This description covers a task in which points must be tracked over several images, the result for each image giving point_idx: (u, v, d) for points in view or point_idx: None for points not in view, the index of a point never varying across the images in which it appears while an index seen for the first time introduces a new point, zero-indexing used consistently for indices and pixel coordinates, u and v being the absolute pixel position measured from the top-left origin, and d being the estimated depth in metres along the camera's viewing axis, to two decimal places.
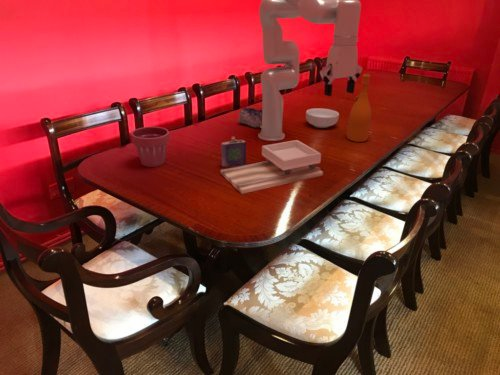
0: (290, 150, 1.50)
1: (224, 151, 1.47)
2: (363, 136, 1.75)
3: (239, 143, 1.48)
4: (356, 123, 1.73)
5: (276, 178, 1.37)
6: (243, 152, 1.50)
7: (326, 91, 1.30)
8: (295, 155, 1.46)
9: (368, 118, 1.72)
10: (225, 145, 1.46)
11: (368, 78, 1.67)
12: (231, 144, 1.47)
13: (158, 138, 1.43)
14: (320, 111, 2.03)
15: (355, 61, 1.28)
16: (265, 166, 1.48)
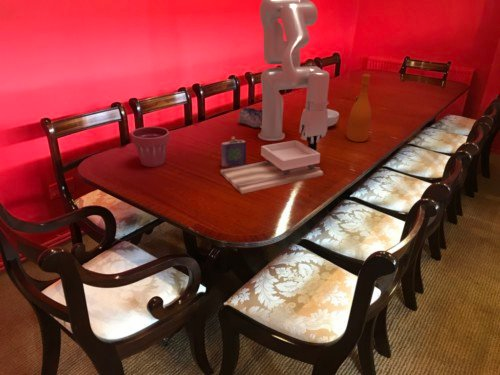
0: (289, 150, 1.50)
1: (224, 151, 1.47)
2: (363, 136, 1.75)
3: (239, 143, 1.48)
4: (356, 123, 1.73)
5: (276, 178, 1.37)
6: (243, 152, 1.50)
7: None
8: (294, 155, 1.46)
9: (368, 118, 1.72)
10: (225, 145, 1.46)
11: (368, 78, 1.67)
12: (231, 144, 1.47)
13: (158, 138, 1.43)
14: None
15: (326, 122, 1.44)
16: (265, 166, 1.48)
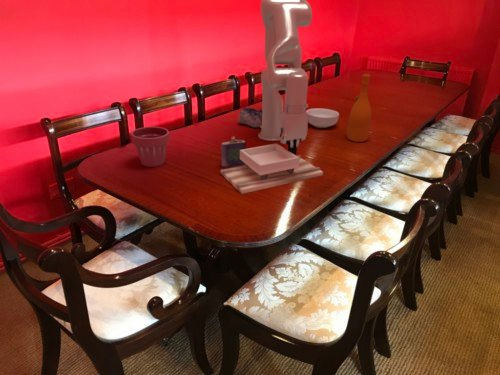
0: (269, 154, 1.46)
1: (224, 151, 1.47)
2: (363, 136, 1.75)
3: (239, 143, 1.48)
4: (356, 123, 1.73)
5: (276, 178, 1.37)
6: None
7: None
8: (273, 159, 1.42)
9: (368, 118, 1.72)
10: (225, 145, 1.46)
11: (368, 78, 1.67)
12: (231, 144, 1.47)
13: (158, 138, 1.43)
14: (320, 111, 2.03)
15: (305, 125, 1.40)
16: None
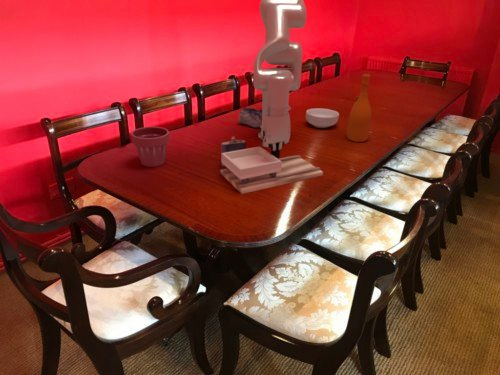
0: (252, 157, 1.43)
1: (224, 151, 1.47)
2: (363, 136, 1.75)
3: (239, 143, 1.48)
4: (356, 123, 1.73)
5: (276, 178, 1.37)
6: None
7: None
8: (256, 163, 1.39)
9: (368, 118, 1.72)
10: (225, 145, 1.46)
11: (368, 78, 1.67)
12: (231, 144, 1.47)
13: (158, 138, 1.43)
14: (320, 111, 2.03)
15: (288, 128, 1.37)
16: None
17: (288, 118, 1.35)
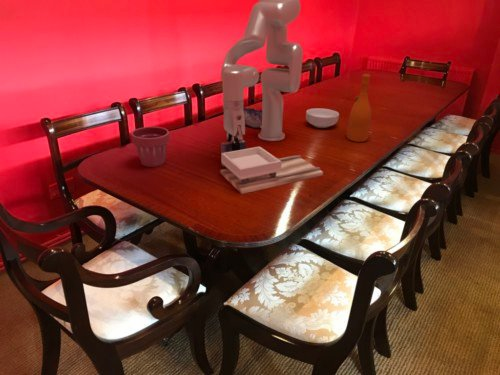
0: (251, 157, 1.43)
1: (224, 150, 1.47)
2: (363, 136, 1.75)
3: None
4: (356, 123, 1.73)
5: (276, 178, 1.37)
6: None
7: None
8: (255, 163, 1.39)
9: (368, 118, 1.72)
10: (225, 145, 1.46)
11: (368, 78, 1.67)
12: (231, 144, 1.47)
13: (158, 138, 1.43)
14: (320, 111, 2.03)
15: (232, 123, 1.40)
16: None
17: (232, 114, 1.39)
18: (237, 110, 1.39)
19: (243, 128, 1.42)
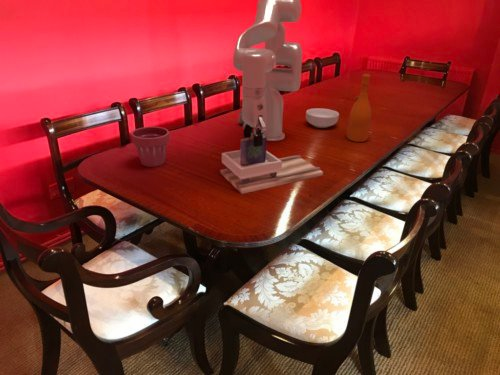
0: None
1: (244, 147, 1.33)
2: (363, 136, 1.75)
3: None
4: (356, 123, 1.73)
5: (276, 178, 1.37)
6: (264, 148, 1.37)
7: None
8: (256, 163, 1.39)
9: (368, 118, 1.72)
10: (245, 141, 1.32)
11: (368, 78, 1.67)
12: (251, 140, 1.33)
13: (158, 138, 1.43)
14: (319, 111, 2.03)
15: (252, 113, 1.26)
16: None
17: (252, 103, 1.24)
18: (258, 99, 1.24)
19: (264, 119, 1.27)
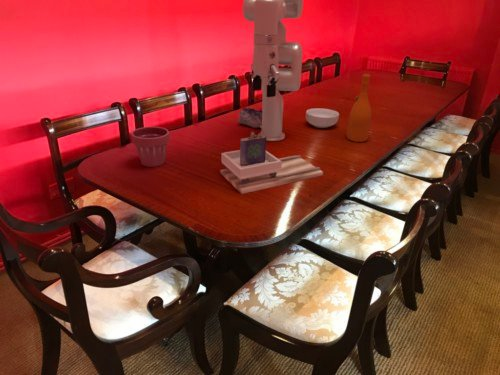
0: None
1: (244, 147, 1.33)
2: (363, 136, 1.75)
3: (259, 139, 1.34)
4: (356, 123, 1.73)
5: (276, 178, 1.37)
6: (263, 148, 1.37)
7: None
8: (256, 163, 1.39)
9: (368, 118, 1.72)
10: (245, 141, 1.32)
11: (368, 78, 1.67)
12: (251, 140, 1.33)
13: (158, 138, 1.43)
14: (319, 111, 2.03)
15: (264, 62, 1.23)
16: None
17: (264, 50, 1.21)
18: (270, 46, 1.21)
19: (276, 68, 1.24)
